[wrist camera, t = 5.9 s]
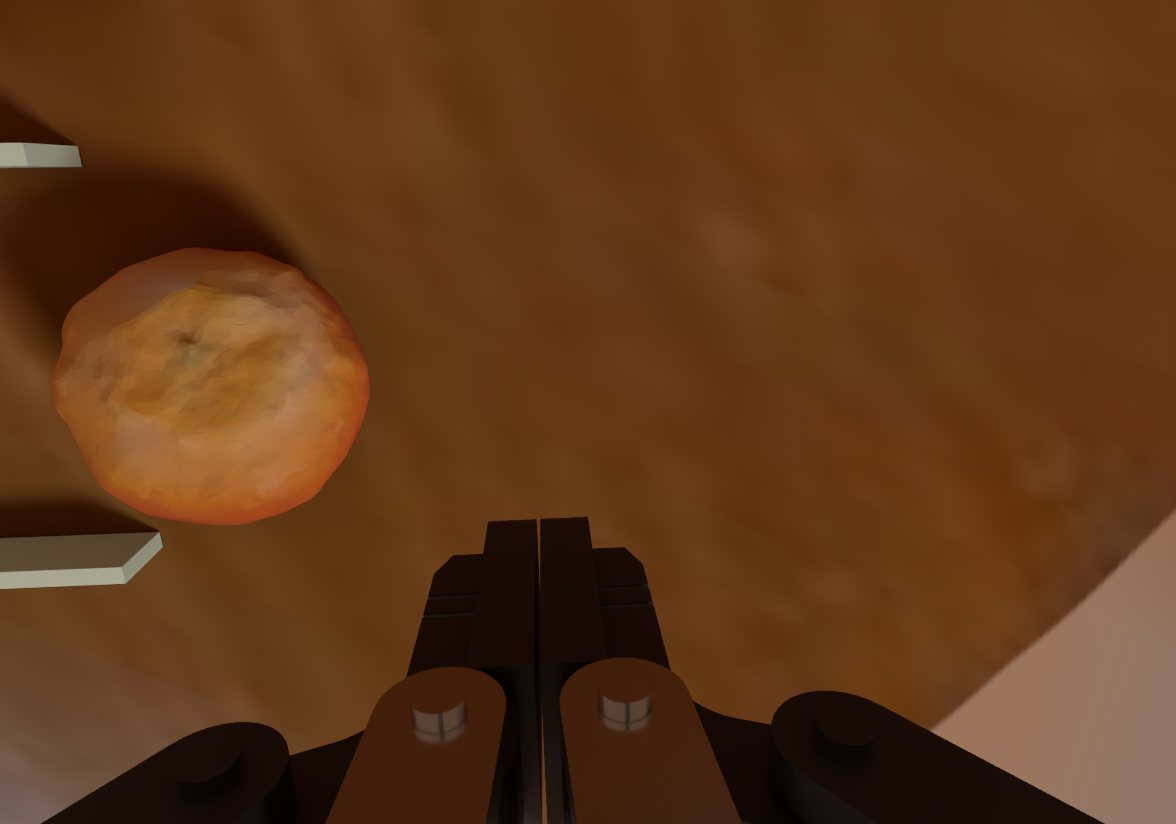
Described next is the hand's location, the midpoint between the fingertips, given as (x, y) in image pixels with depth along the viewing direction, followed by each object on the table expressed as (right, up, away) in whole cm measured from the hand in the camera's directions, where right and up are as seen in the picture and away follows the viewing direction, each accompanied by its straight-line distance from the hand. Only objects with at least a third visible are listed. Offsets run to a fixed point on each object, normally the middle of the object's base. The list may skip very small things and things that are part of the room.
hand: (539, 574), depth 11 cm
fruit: (-10, +4, +14) cm, 18 cm away
